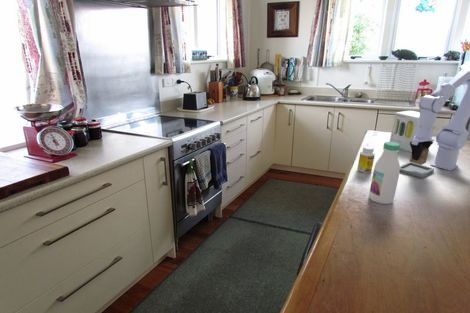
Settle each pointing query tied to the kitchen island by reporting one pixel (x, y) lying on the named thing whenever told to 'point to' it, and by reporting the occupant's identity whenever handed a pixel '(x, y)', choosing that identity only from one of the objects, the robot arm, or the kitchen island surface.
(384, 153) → the milk bottle
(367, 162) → the supplement bottle
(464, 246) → the kitchen island surface
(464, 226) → the kitchen island surface
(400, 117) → the supplement box
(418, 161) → the walnut block
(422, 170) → the grey tray
